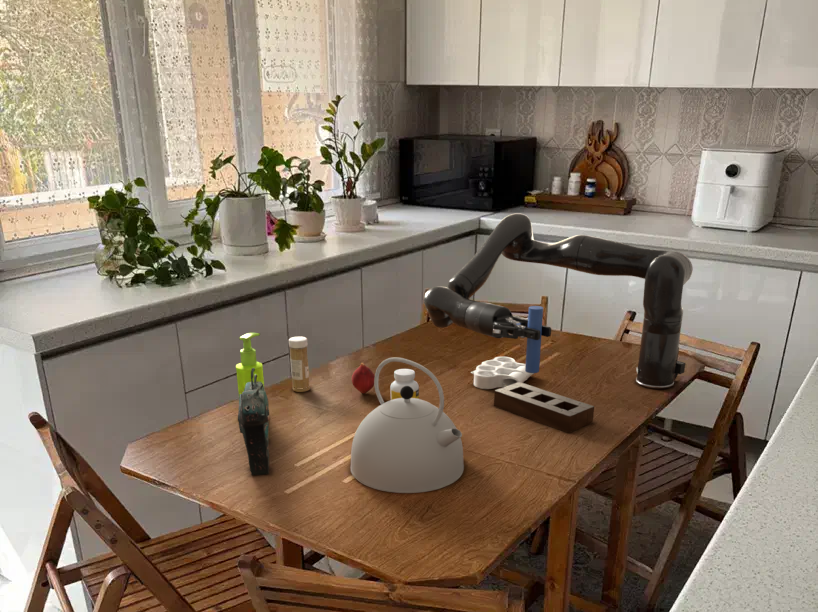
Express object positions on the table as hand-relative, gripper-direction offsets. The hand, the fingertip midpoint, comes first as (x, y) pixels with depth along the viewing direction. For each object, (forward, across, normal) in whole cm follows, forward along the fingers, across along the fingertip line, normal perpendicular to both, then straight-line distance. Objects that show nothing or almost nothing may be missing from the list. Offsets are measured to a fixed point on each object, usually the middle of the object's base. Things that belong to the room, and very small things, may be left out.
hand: (544, 333), depth 176 cm
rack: (+1, 0, +19) cm, 19 cm away
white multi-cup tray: (-22, +11, +19) cm, 31 cm away
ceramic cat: (-23, -62, +19) cm, 69 cm away
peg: (-3, 0, +10) cm, 10 cm away
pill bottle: (-18, -26, +19) cm, 37 cm away
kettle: (+2, -42, +19) cm, 46 cm away
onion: (-38, -22, +19) cm, 48 cm away
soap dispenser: (-42, -51, +19) cm, 69 cm away
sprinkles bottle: (-51, -32, +19) cm, 63 cm away
